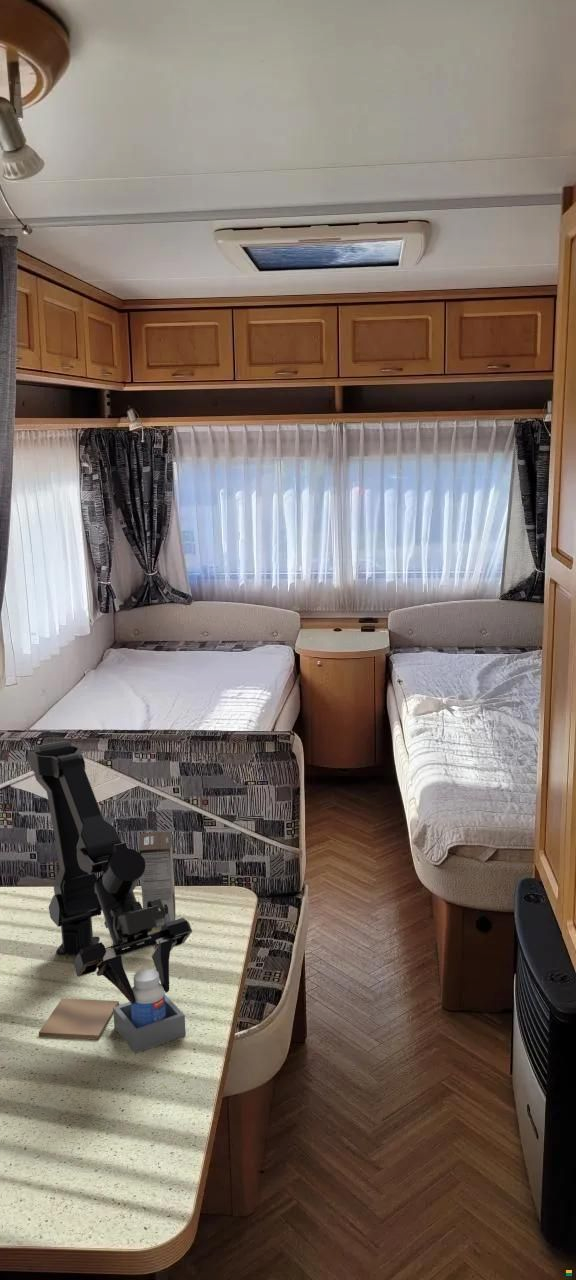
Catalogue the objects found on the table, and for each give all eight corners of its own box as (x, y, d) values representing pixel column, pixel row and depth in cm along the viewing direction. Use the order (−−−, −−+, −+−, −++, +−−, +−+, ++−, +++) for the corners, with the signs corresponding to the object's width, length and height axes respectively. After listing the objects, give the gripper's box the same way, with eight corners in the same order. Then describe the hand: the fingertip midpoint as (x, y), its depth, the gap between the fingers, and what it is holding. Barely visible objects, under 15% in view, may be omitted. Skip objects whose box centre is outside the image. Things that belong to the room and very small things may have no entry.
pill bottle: (160, 1042, 152) (156, 985, 150) (127, 1039, 153) (123, 983, 152) (171, 1022, 158) (167, 967, 156) (139, 1020, 159) (135, 965, 157)
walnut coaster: (62, 1001, 165) (61, 998, 165) (118, 1004, 164) (118, 1001, 163) (39, 1035, 155) (38, 1032, 155) (99, 1039, 154) (98, 1035, 154)
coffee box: (144, 906, 200) (139, 832, 197) (176, 904, 200) (171, 830, 197) (143, 927, 191) (137, 849, 188) (176, 924, 191) (171, 847, 188)
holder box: (114, 1027, 157) (112, 1007, 156) (163, 1010, 161) (161, 991, 161) (135, 1053, 150) (133, 1032, 149) (185, 1035, 154) (184, 1014, 153)
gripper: (74, 901, 150) (105, 999, 142) (183, 871, 159) (218, 961, 152) (61, 929, 158) (90, 1022, 151) (166, 899, 167) (198, 985, 160)
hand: (150, 997), depth 153 cm, fingers closed on pill bottle, 5 cm apart
